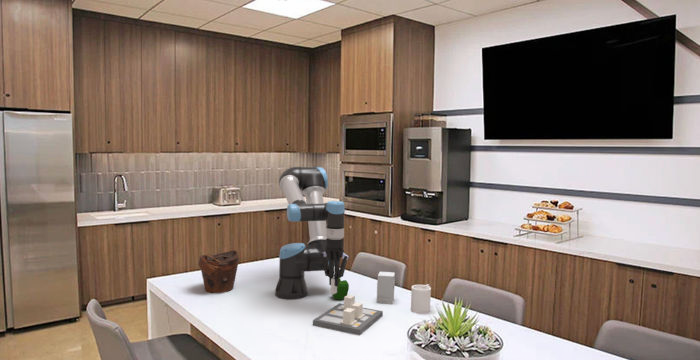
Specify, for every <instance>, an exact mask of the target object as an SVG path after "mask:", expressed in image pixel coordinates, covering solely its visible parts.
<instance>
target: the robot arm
mask: <svg viewBox="0 0 700 360" xmlns="http://www.w3.org/2000/svg"><path fill="white" fill-rule="evenodd" d="M328 179H329V178H328V175H327V172H326V169H324V168H323V167H321V166H320V167H318V166H292V167H289V168H287V169H286V170H284V171H283V172H282V173H281V175H280V176H279V178H278V186H279V189H280V190H281V191H282V192H283V194H284V196H285V198H286V201H287V204H288V205H287V208H286V218H287V221H288V222H296V223H297V222H308V235H309V241H308V242H307V246H306V245H305V243H303V242H294V243H288V244H285V245H283V246H281V248H280V249H279V256H278V258H279V270H278V274H279V276H278V280H277V284H276V287H275V291H274V292H275V293H274V294H275V296H276V297H278V298H280V299H285V300H294V299H302V298H305V297H307V296H308V294H309V293H308V292H309V289H308V287H307V283H306V279H305V272H324V276H326V277H328V278H329V280H328V281H329V282H328V283H329V284H328V285H329V286H330V294H331V295H332V294H335V293H337V286H338V285H339V278H340V279H341V278H343V277H344V274H345V271H346V267H347V263H348V260H349V258H350V255H348V254H346V253H345V249H344V248H345V246H344V243H345V240H344V237H345V211H346V209H345V202H343V201H342V200H341V201H340V200H330V201H327V202H324V194H325V193H326V190H327V189H328V187H329V183H328ZM341 259H342V260H341ZM340 262H341V263H340Z"/></svg>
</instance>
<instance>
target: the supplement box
mask: <svg viewBox="0 0 700 360" xmlns="http://www.w3.org/2000/svg"><path fill="white" fill-rule="evenodd" d="M395 276H396V273H395V272H394V271H393V272H391V271H379V272H378V274H377V283H376V304H377V303H378V304H388V305H393V302H394V300H395V285H396V283H395V282H396V281H395V278H396V277H395Z"/></svg>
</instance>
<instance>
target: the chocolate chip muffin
mask: <svg viewBox="0 0 700 360" xmlns="http://www.w3.org/2000/svg"><path fill="white" fill-rule="evenodd" d="M239 262H240V258H239V253H238V251H237V250H235V249H233V250H229V251H226V252H221V253H217V254H213V255H212V254H202V255H200V256H199V259H198V262H197V265H198V267H199V268H200V271H201V275H202V276H201V277H202V280H203V286H204V291H206V292H207V293H211V294H212V293H213V294H215V293H216V294H219V293H227V292H229V291H232V290H233V289H234V285H235V281H236V276H237V271H238V266H239V264H240V263H239Z"/></svg>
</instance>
